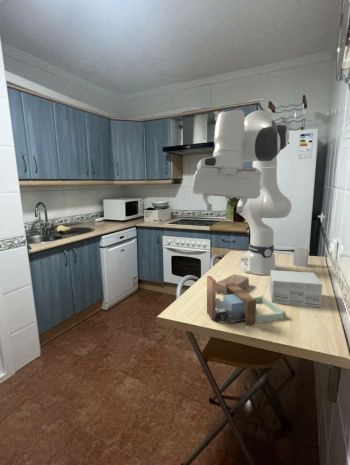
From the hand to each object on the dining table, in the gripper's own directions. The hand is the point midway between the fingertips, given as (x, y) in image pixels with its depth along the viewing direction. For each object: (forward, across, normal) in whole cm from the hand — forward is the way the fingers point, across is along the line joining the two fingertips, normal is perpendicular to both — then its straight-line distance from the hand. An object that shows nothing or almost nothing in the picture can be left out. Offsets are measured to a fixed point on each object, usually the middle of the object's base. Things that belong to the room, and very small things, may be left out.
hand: (224, 211), depth 76 cm
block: (+34, -11, -13) cm, 38 cm away
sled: (+34, -7, -13) cm, 37 cm away
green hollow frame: (+33, -20, -14) cm, 41 cm away
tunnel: (+34, -12, -13) cm, 38 cm away
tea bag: (+21, -63, -61) cm, 90 cm away
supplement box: (+30, -37, -23) cm, 53 cm away
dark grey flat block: (+35, -3, -12) cm, 37 cm away
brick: (+31, -16, -35) cm, 49 cm away
